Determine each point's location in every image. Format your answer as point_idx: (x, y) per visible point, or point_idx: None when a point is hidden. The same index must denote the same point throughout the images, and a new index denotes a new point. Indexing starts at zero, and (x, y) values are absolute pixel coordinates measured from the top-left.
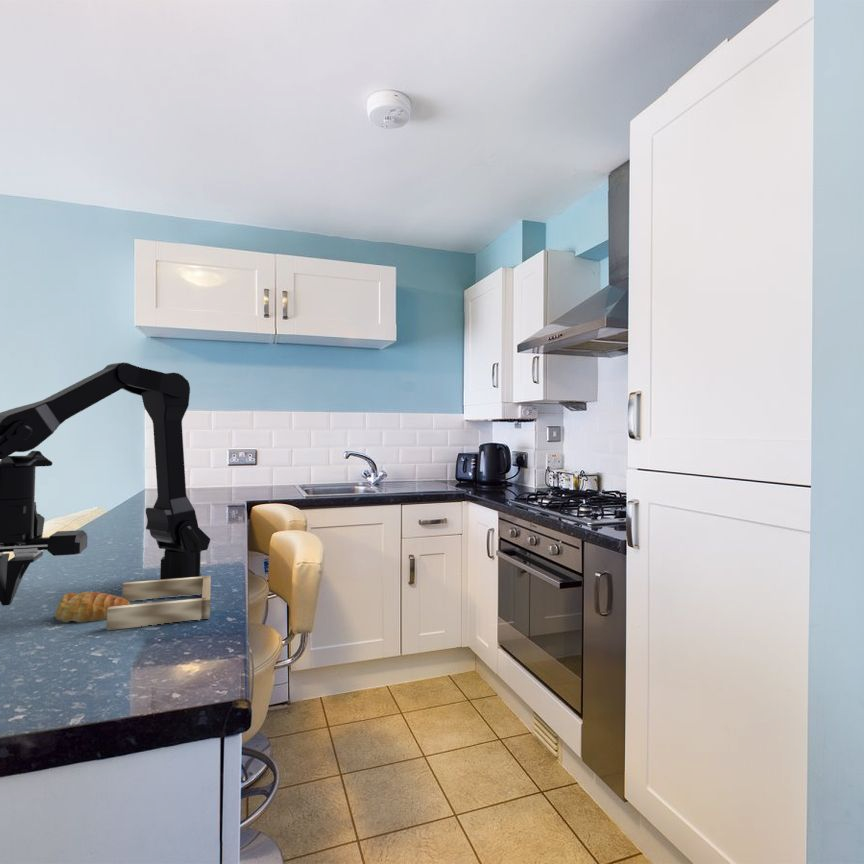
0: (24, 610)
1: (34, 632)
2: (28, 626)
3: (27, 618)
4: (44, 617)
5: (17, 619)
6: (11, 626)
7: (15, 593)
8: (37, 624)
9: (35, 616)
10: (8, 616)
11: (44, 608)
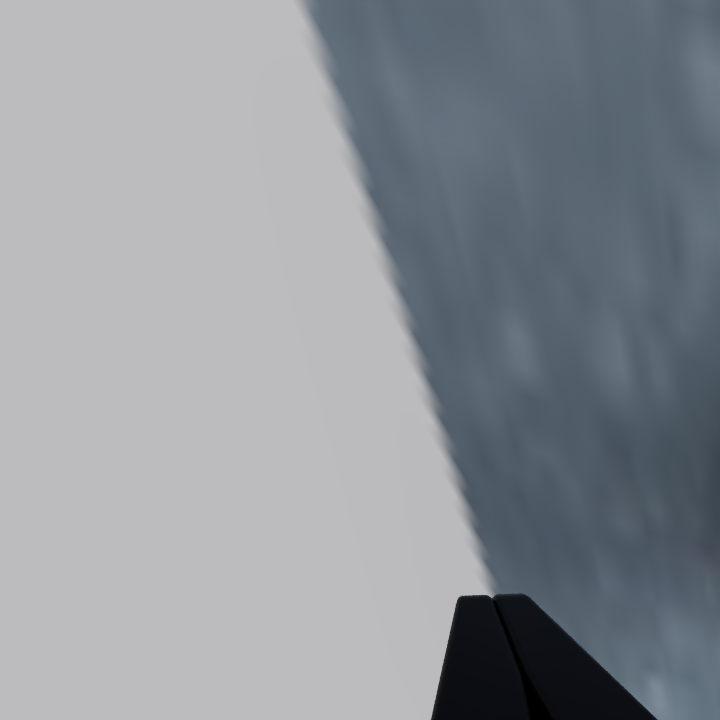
0: (485, 36)
1: (682, 696)
2: (624, 572)
3: (577, 361)
4: (716, 375)
5: (498, 366)
6: (501, 538)
7: (598, 670)
8: (681, 545)
9: (636, 319)
10: (387, 238)
11: (687, 19)
